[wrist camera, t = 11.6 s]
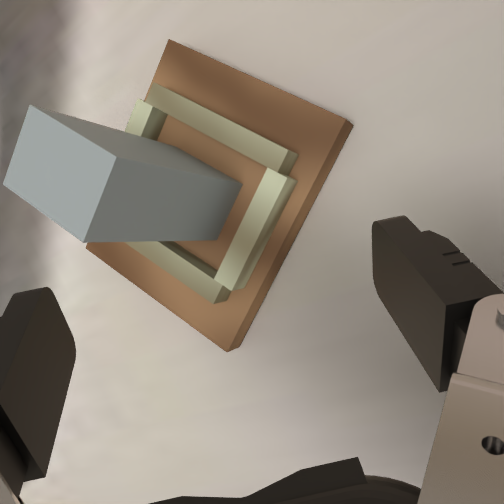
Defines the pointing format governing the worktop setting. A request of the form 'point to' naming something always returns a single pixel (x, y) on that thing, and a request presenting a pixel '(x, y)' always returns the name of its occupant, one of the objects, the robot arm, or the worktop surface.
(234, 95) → the brown framed socket base
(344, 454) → the worktop surface
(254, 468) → the worktop surface
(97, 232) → the pale grey rectangular prism
